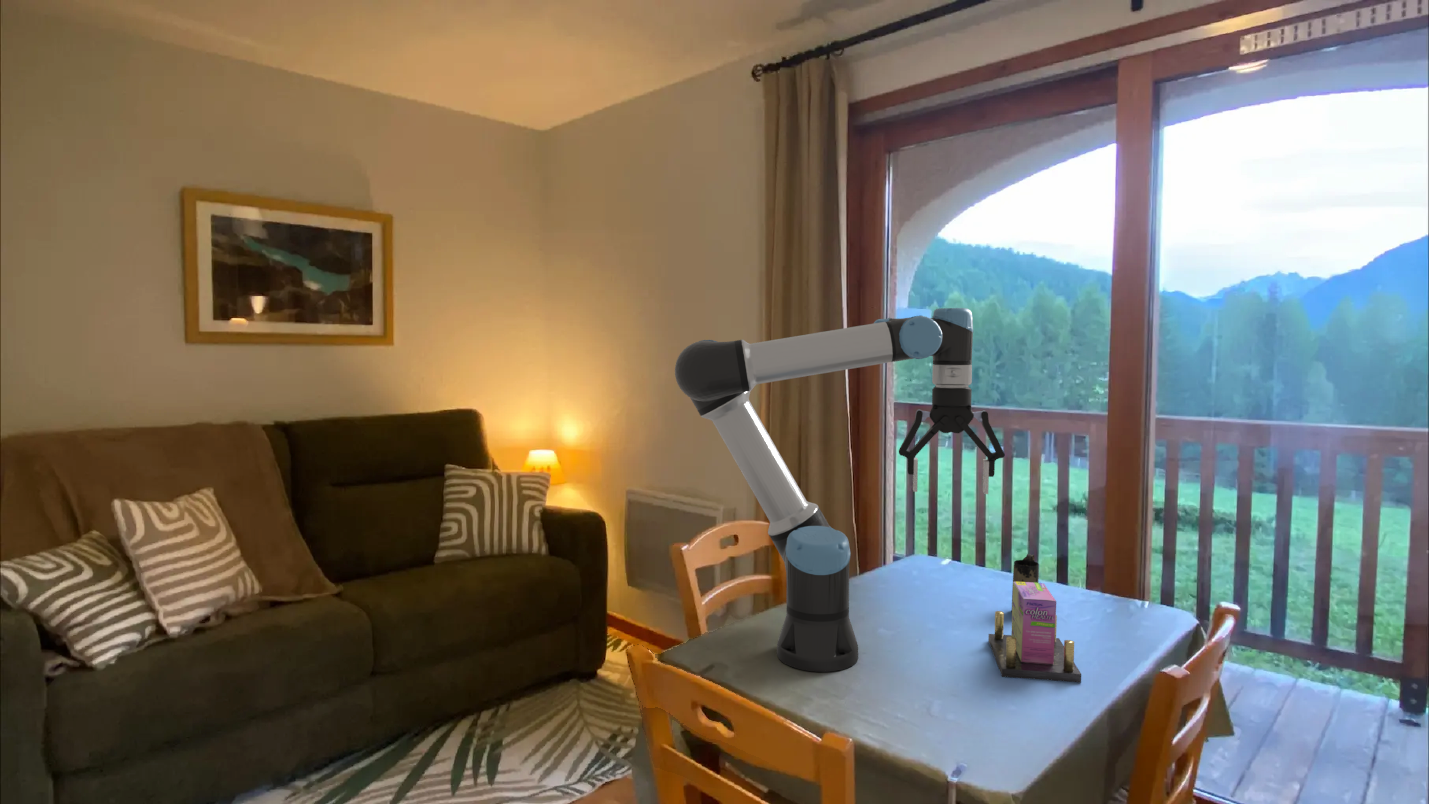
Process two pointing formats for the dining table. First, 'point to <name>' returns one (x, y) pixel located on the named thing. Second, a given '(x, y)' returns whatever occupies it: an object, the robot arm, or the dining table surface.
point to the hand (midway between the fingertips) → (949, 491)
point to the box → (1033, 622)
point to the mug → (1025, 570)
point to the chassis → (1015, 668)
